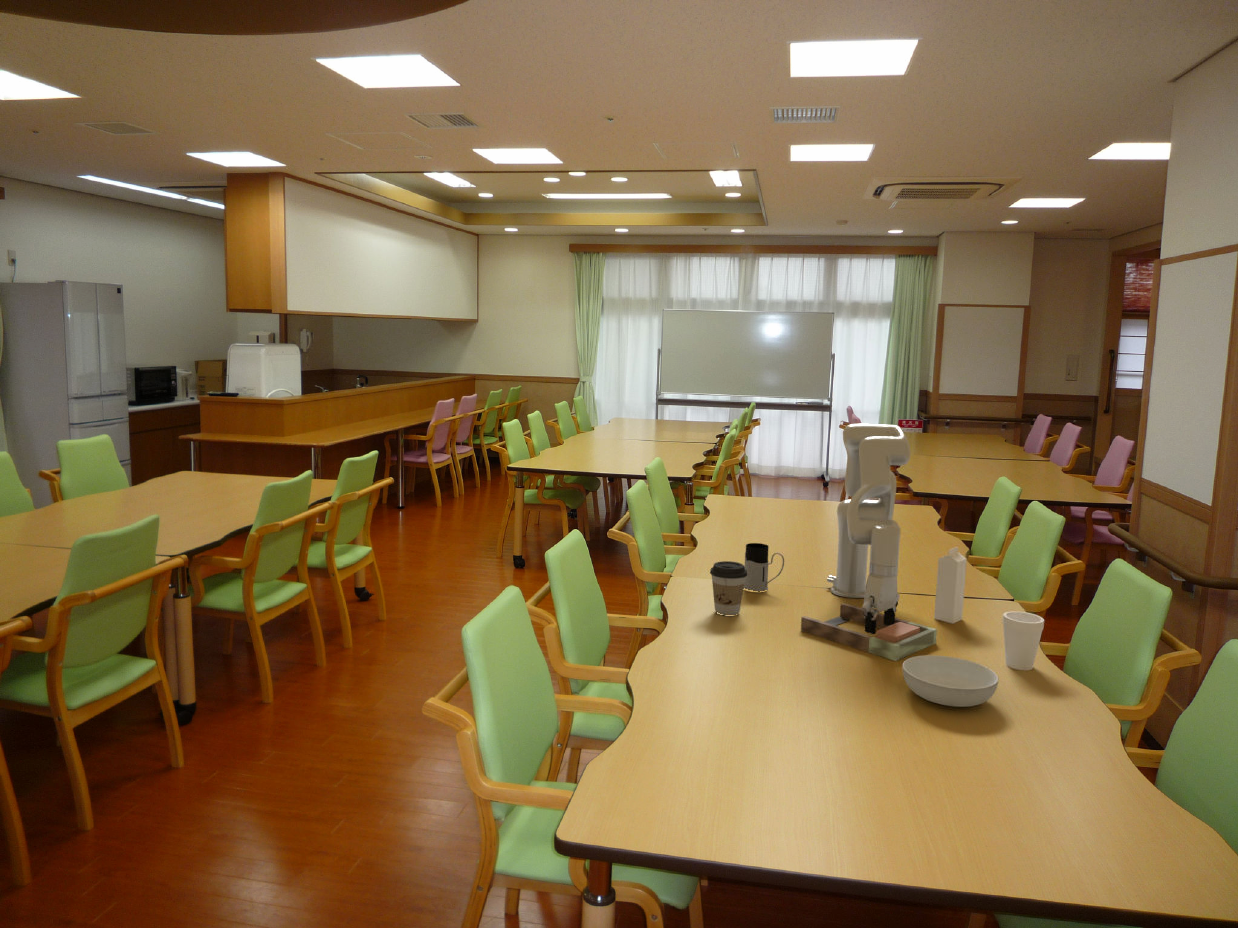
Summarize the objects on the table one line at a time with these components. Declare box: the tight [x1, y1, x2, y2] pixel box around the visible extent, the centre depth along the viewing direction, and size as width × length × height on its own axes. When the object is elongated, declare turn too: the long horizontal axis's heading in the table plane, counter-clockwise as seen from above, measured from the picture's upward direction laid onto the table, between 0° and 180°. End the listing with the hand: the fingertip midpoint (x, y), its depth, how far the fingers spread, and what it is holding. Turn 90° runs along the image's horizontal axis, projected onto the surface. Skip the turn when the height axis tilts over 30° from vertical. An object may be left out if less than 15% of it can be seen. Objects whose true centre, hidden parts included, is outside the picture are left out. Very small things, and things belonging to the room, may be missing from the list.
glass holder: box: [744, 542, 785, 592], centre depth 275 cm, size 9×14×15 cm, turn 54°
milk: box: [933, 546, 968, 624], centre depth 248 cm, size 6×6×22 cm
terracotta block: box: [875, 622, 920, 644], centre depth 226 cm, size 6×12×5 cm, turn 131°
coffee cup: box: [709, 560, 747, 615], centre depth 251 cm, size 11×11×15 cm
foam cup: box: [1001, 610, 1045, 671], centre depth 213 cm, size 10×9×13 cm
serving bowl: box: [902, 654, 999, 708], centre depth 192 cm, size 21×21×7 cm
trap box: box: [800, 602, 938, 662], centre depth 233 cm, size 30×21×4 cm
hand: (879, 629), depth 230 cm, fingers open, 9 cm apart
